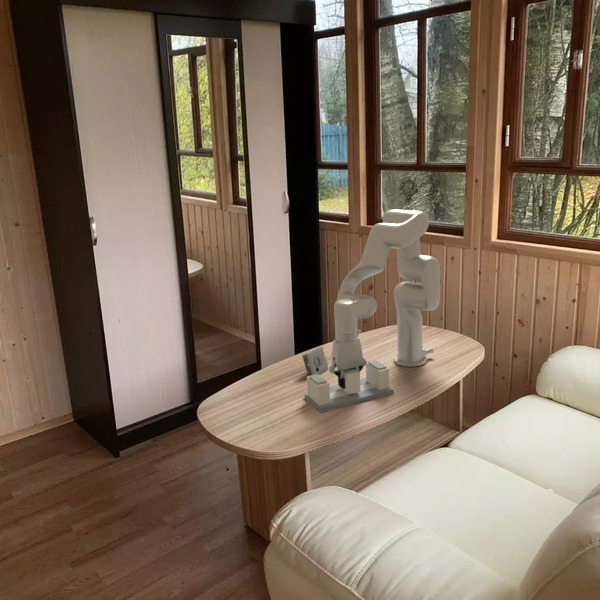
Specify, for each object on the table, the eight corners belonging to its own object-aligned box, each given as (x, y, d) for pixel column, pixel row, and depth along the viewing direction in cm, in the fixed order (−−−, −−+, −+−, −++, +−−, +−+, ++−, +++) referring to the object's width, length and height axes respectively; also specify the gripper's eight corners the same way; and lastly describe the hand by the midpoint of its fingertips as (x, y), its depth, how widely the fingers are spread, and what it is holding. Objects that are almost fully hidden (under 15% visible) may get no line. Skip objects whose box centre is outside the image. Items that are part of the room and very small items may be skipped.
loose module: (349, 383, 213) (348, 363, 211) (360, 391, 206) (359, 371, 204) (337, 385, 211) (336, 366, 209) (348, 394, 204) (347, 373, 202)
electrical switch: (314, 377, 226) (311, 354, 224) (303, 376, 229) (300, 352, 227) (329, 369, 233) (326, 346, 231) (318, 367, 236) (315, 345, 234)
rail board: (374, 380, 220) (374, 376, 219) (393, 393, 208) (393, 389, 208) (304, 397, 209) (304, 393, 209) (320, 412, 198) (320, 408, 197)
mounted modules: (376, 378, 217) (375, 358, 215) (389, 387, 210) (389, 367, 207) (308, 395, 207) (306, 375, 205) (319, 405, 199) (318, 384, 197)
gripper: (363, 328, 209) (364, 376, 214) (319, 337, 203) (322, 387, 208) (374, 334, 203) (375, 384, 208) (329, 344, 196) (332, 395, 202)
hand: (348, 385), depth 208 cm, fingers closed on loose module, 4 cm apart
